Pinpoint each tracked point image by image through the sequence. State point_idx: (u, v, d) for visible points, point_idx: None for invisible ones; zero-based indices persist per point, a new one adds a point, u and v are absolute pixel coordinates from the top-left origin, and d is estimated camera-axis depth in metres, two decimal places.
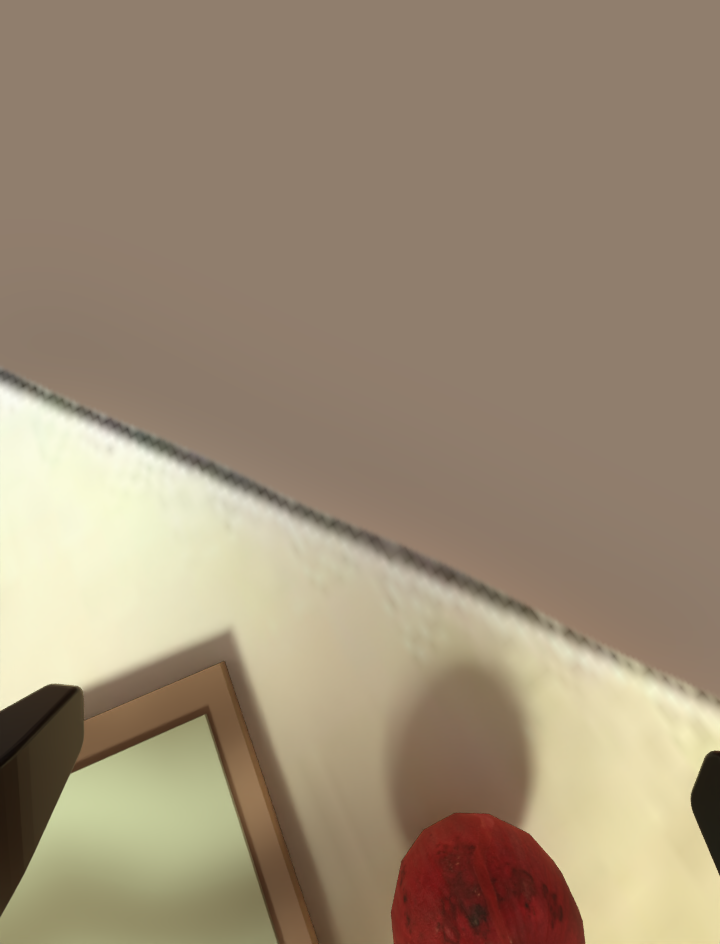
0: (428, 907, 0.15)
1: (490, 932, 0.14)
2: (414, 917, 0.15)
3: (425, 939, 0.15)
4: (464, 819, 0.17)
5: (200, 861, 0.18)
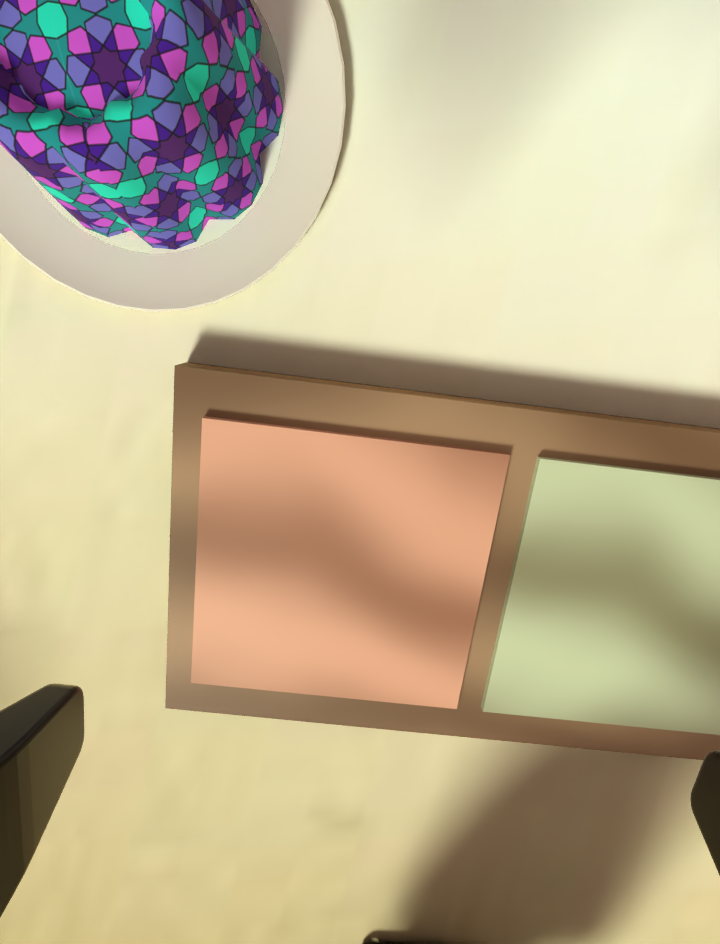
0: None
1: None
2: None
3: None
4: None
5: None
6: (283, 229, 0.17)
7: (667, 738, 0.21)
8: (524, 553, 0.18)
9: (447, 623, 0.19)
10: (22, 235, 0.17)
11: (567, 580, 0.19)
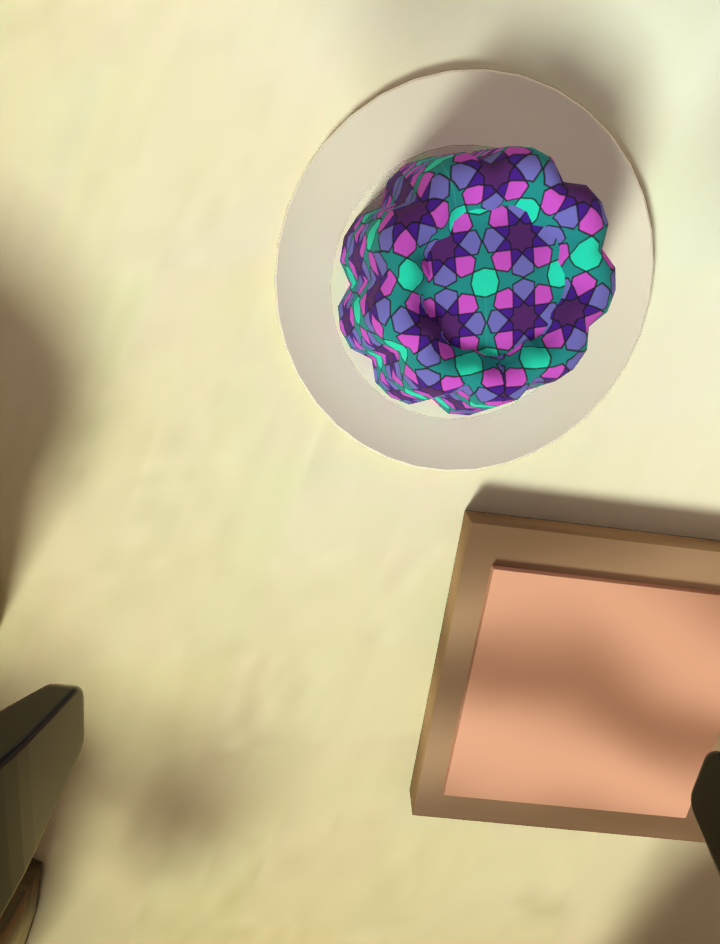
0: None
1: None
2: None
3: None
4: None
5: None
6: (572, 401, 0.18)
7: None
8: None
9: (689, 744, 0.21)
10: (336, 405, 0.18)
11: None
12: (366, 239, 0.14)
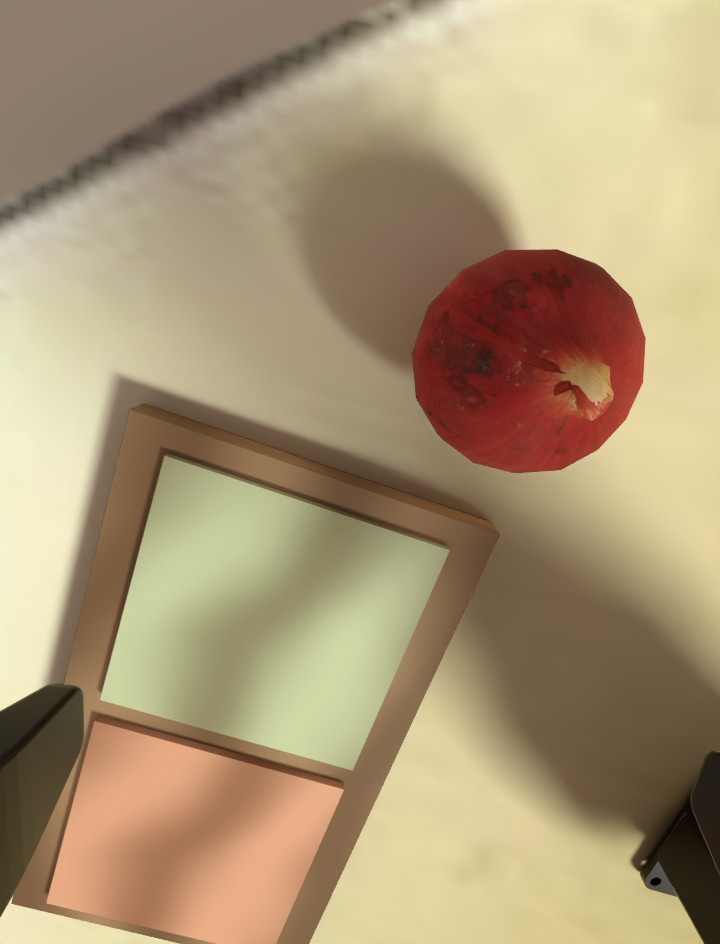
0: (445, 399, 0.13)
1: (503, 362, 0.11)
2: (443, 417, 0.13)
3: (461, 423, 0.13)
4: (432, 302, 0.14)
5: (279, 539, 0.18)
6: None
7: (439, 609, 0.19)
8: (189, 720, 0.20)
9: (250, 784, 0.21)
10: None
11: (223, 690, 0.20)
12: None
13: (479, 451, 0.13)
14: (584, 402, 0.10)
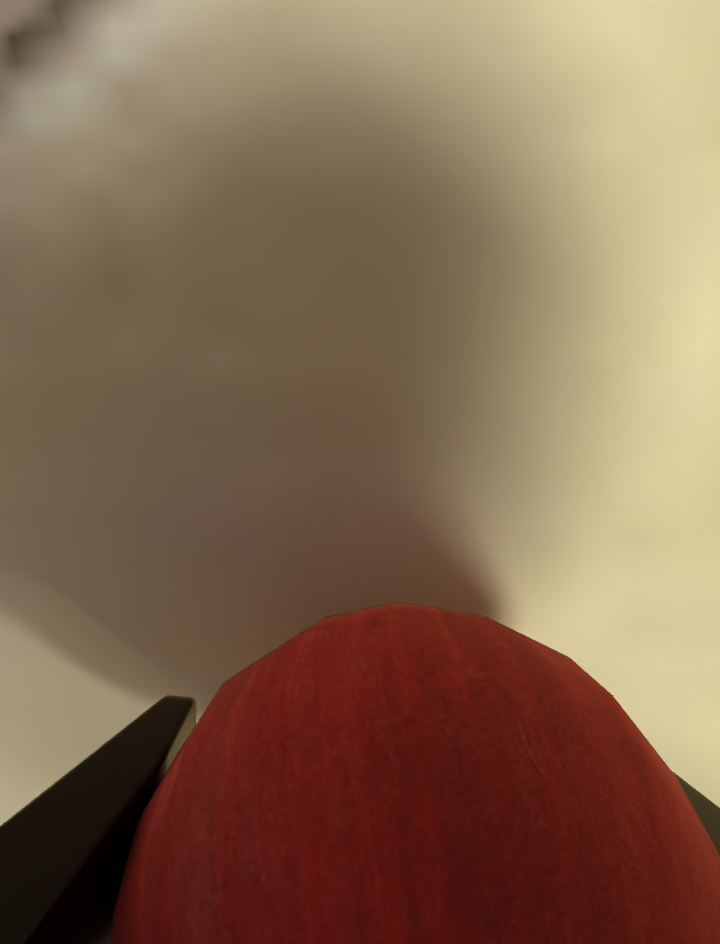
0: None
1: None
2: None
3: None
4: (141, 818, 0.05)
5: None
6: None
7: None
8: None
9: None
10: None
11: None
12: None
13: None
14: None
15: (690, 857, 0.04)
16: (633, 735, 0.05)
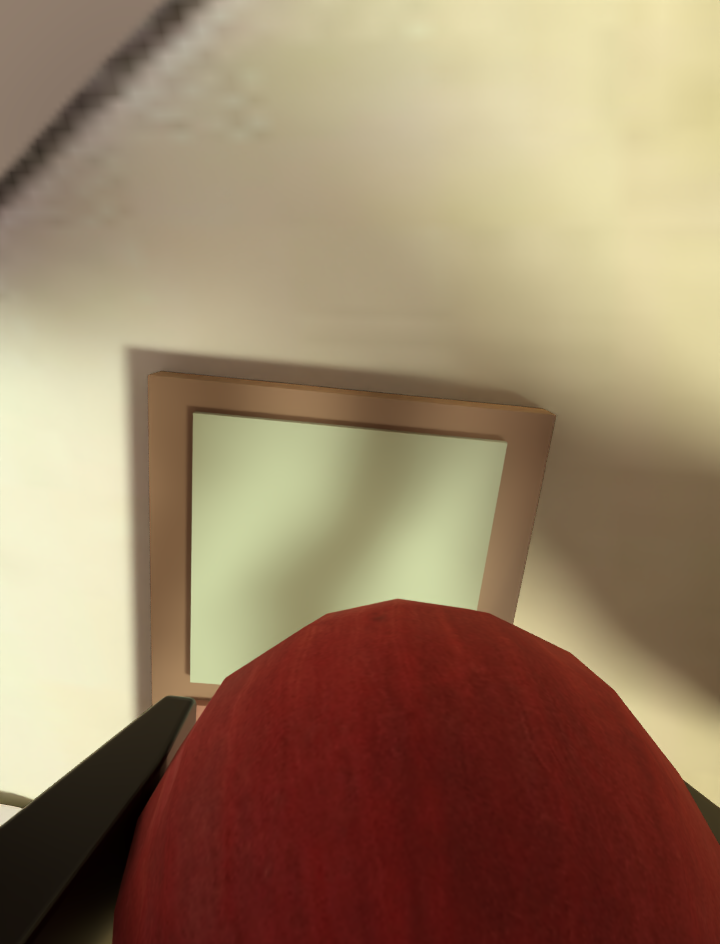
0: None
1: None
2: None
3: None
4: (142, 814, 0.05)
5: (328, 474, 0.17)
6: None
7: (511, 511, 0.18)
8: None
9: None
10: None
11: None
12: None
13: None
14: None
15: (693, 851, 0.04)
16: (635, 729, 0.05)
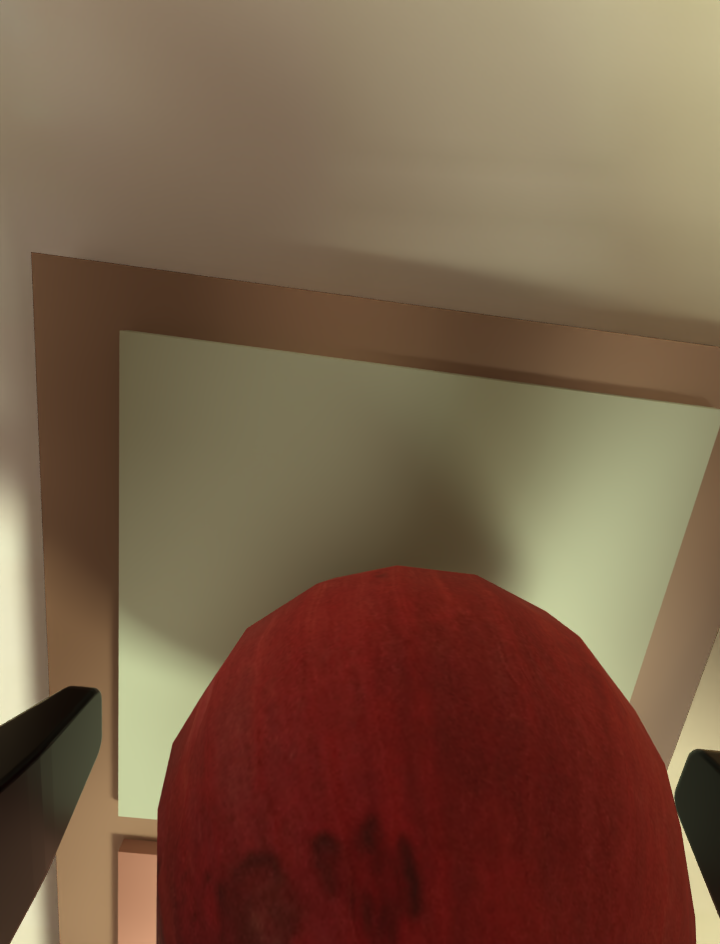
0: None
1: None
2: None
3: None
4: (177, 738, 0.06)
5: (379, 460, 0.09)
6: None
7: (706, 538, 0.10)
8: None
9: None
10: None
11: None
12: None
13: None
14: None
15: (636, 755, 0.05)
16: (595, 665, 0.06)
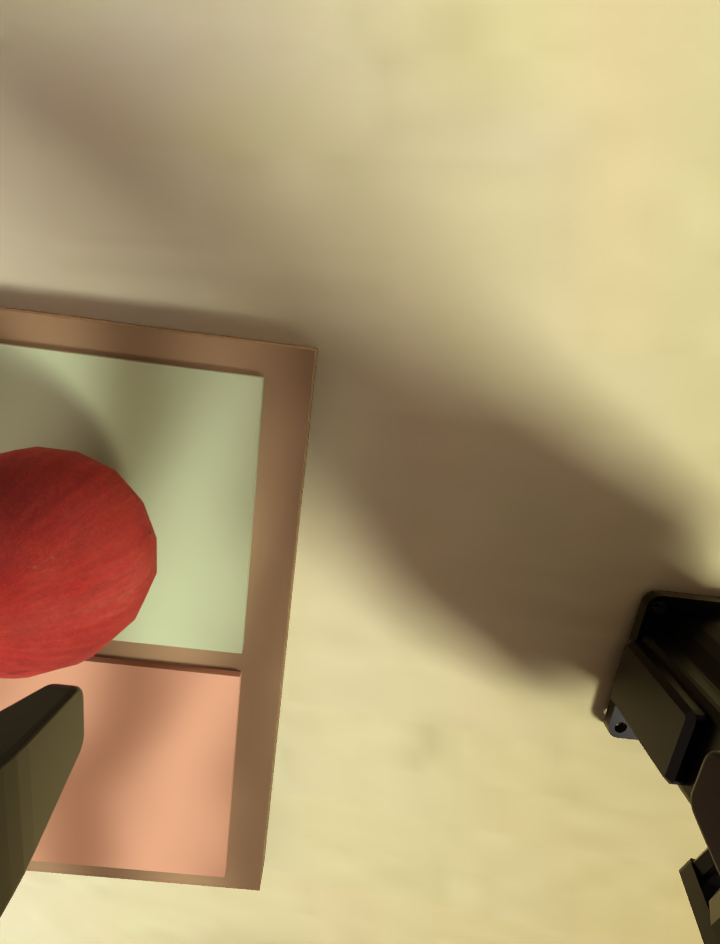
0: None
1: None
2: None
3: None
4: None
5: (80, 405, 0.17)
6: None
7: (278, 452, 0.17)
8: None
9: (140, 689, 0.20)
10: None
11: None
12: None
13: None
14: None
15: (83, 505, 0.13)
16: (93, 479, 0.13)
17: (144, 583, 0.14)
